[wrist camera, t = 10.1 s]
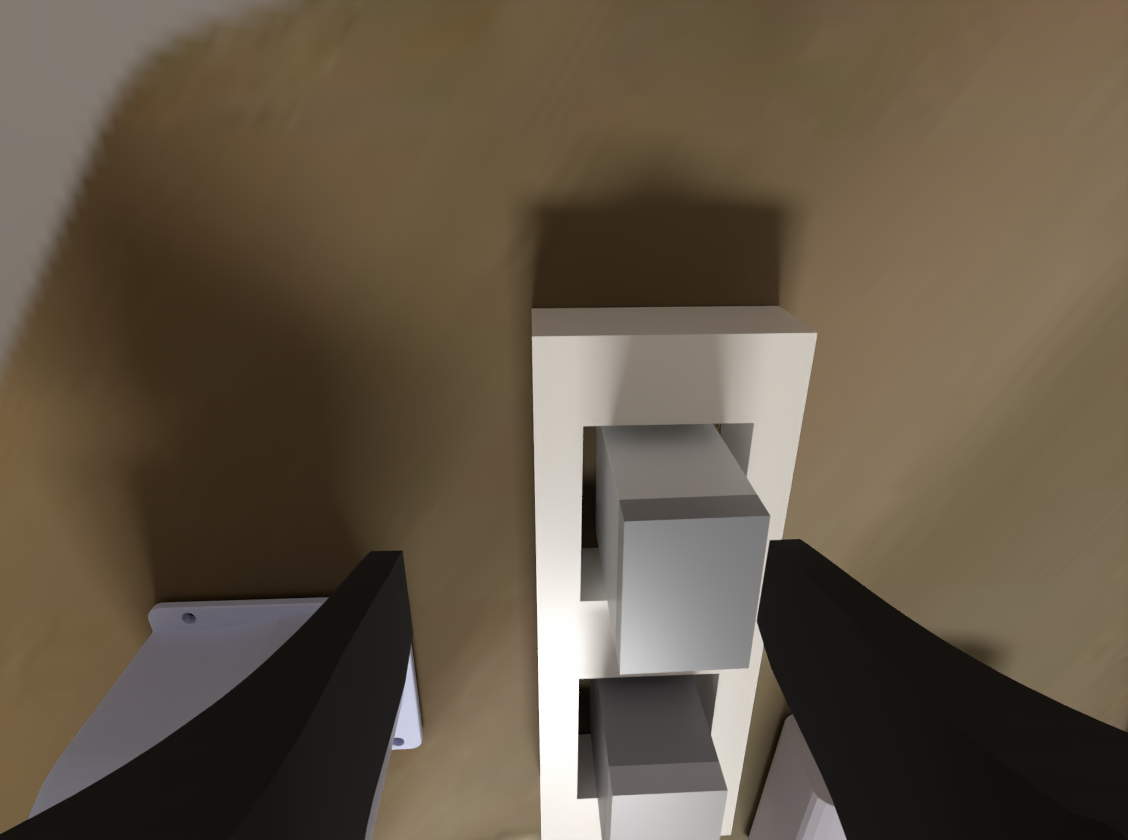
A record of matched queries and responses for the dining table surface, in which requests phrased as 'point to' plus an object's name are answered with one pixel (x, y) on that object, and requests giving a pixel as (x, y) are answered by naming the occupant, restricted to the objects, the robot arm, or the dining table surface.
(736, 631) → the grey plug
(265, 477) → the dining table surface
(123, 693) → the robot arm
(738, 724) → the power strip
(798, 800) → the charger
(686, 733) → the charcoal plug
